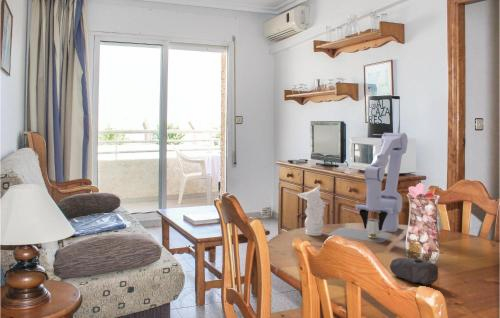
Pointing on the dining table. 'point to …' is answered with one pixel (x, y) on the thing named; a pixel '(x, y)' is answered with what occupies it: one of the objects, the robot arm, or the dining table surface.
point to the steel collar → (372, 226)
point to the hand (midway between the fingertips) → (373, 229)
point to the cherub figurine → (313, 211)
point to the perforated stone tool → (415, 270)
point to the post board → (360, 234)
